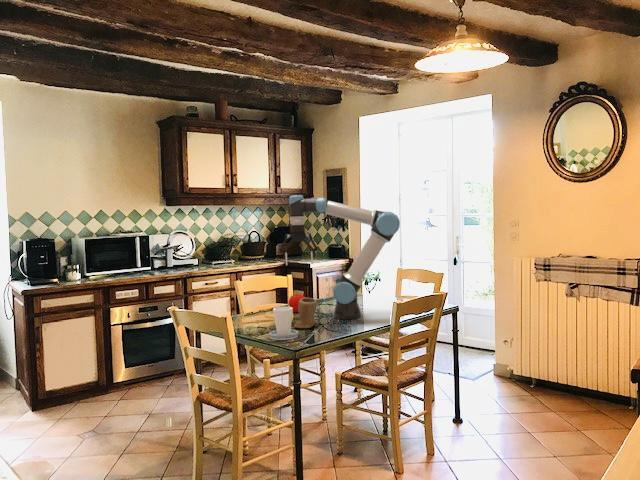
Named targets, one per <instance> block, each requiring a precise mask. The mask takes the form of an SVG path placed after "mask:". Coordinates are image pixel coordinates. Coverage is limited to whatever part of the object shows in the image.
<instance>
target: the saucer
mask: <svg viewBox="0 0 640 480" xmlns="http://www.w3.org/2000/svg"><path fill="white" fill-rule="evenodd" d="M268 337H269V339H270V340H272V341H273V340H274V341H287V340H288V341H289V340H290V341H291V340H293V339H294V340H295V339H296V338H298V337H299V330H296V329H292V328H291V334H290V335H284V336H278V335H277V331H276V330H272V331H269V333H268Z"/></svg>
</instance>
